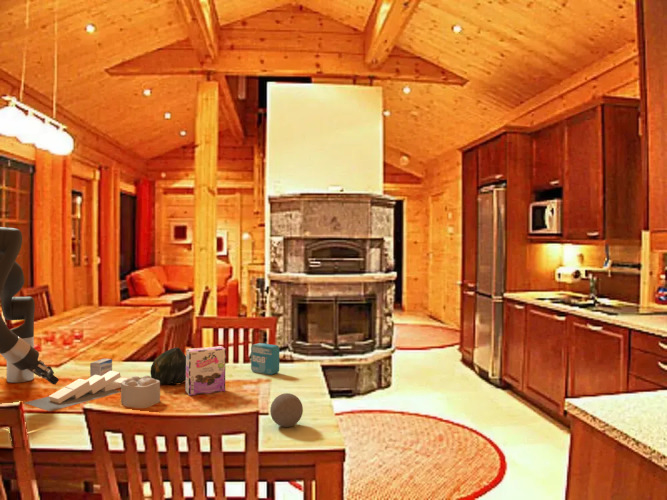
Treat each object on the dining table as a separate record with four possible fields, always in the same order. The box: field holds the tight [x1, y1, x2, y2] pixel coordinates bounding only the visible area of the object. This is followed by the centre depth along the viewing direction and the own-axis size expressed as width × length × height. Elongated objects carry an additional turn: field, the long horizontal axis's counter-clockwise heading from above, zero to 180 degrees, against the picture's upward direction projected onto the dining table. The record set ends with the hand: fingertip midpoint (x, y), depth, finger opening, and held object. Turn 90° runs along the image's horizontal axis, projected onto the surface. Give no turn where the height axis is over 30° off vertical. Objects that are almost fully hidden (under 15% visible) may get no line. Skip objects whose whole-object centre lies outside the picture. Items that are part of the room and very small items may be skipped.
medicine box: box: [89, 358, 113, 378], centre depth 209 cm, size 8×4×9 cm, turn 168°
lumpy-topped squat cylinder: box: [120, 374, 161, 409], centre depth 184 cm, size 10×13×9 cm
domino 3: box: [88, 370, 122, 394], centre depth 197 cm, size 2×6×12 cm
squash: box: [149, 346, 186, 386], centre depth 209 cm, size 14×15×15 cm
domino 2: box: [71, 375, 106, 399], centre depth 191 cm, size 2×6×12 cm
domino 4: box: [101, 377, 128, 391], centre depth 201 cm, size 2×6×12 cm
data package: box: [250, 342, 280, 376], centre depth 227 cm, size 12×4×12 cm, turn 60°
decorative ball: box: [269, 392, 304, 428], centre depth 163 cm, size 10×10×10 cm
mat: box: [24, 389, 121, 412], centre depth 188 cm, size 16×27×1 cm, turn 148°
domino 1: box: [48, 378, 90, 403], centre depth 186 cm, size 2×6×12 cm
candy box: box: [184, 345, 227, 396], centre depth 198 cm, size 14×6×16 cm, turn 117°
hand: (55, 382), depth 182 cm, fingers closed
